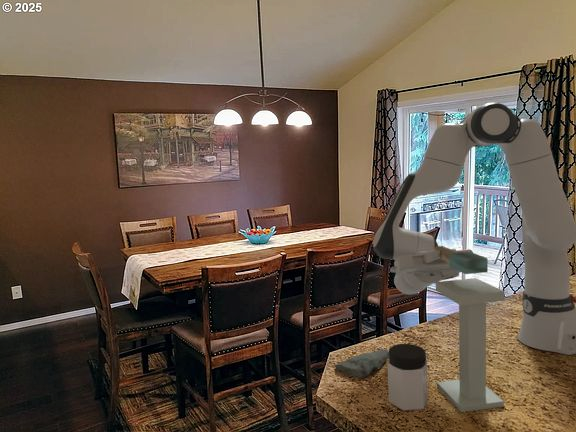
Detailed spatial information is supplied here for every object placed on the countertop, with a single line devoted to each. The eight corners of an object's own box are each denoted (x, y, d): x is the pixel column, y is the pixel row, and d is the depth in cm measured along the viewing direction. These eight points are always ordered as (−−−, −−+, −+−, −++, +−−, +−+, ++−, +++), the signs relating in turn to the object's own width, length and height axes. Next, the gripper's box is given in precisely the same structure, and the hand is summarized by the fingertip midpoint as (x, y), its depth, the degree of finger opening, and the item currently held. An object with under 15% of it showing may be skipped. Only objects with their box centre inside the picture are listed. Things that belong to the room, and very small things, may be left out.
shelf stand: (475, 381, 109) (475, 277, 106) (503, 406, 98) (504, 291, 95) (437, 387, 108) (435, 282, 104) (461, 412, 97) (460, 296, 93)
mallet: (447, 254, 113) (447, 243, 113) (487, 272, 96) (487, 258, 96) (428, 256, 113) (428, 244, 112) (465, 274, 95) (465, 260, 95)
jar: (422, 415, 97) (421, 362, 95) (385, 407, 101) (383, 356, 99) (430, 394, 104) (429, 345, 103) (395, 388, 108) (394, 340, 107)
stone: (377, 343, 130) (404, 353, 122) (377, 354, 130) (405, 364, 122) (332, 358, 120) (359, 370, 112) (333, 370, 120) (360, 383, 112)
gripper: (385, 260, 121) (402, 244, 108) (456, 254, 124) (481, 237, 111) (390, 283, 119) (408, 269, 106) (462, 276, 121) (488, 261, 109)
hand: (446, 252), depth 108 cm, fingers closed on mallet, 2 cm apart
